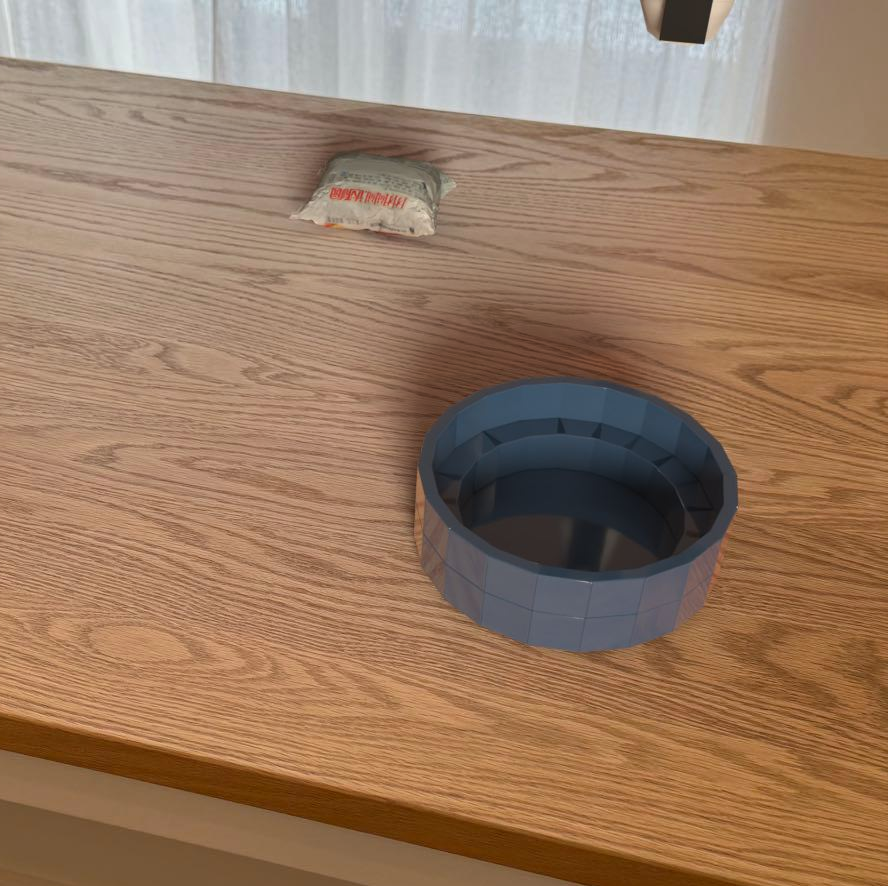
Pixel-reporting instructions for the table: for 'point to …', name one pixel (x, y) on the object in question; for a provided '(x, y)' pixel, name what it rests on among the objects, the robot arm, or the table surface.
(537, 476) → the bowl
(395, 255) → the table surface
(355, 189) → the packaged food
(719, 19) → the cream pestle
